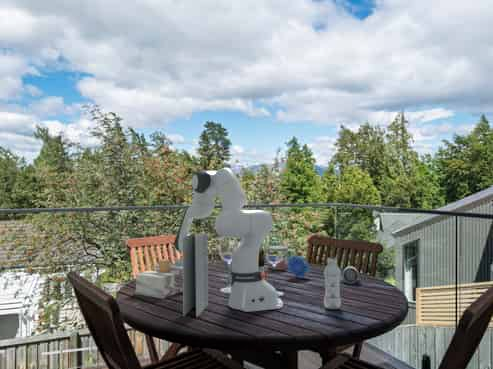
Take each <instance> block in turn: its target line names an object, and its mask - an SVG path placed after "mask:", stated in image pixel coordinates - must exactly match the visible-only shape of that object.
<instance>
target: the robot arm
mask: <svg viewBox="0 0 493 369" xmlns="http://www.w3.org/2000/svg"><path fill="white" fill-rule="evenodd" d="M191 187H192V189H193V191H194V192H193V195H192V202H191V204H190V205H188V206H187V208H186V209H185V211H184V213H183V216H182V217H181V222H180V225H179V228H178V232H177V234H176V236H175V238H174V242H173V245H174V249H175V250H176V251H177V252H180V253H182V254H183V242H182V237H185V236H187V235H190V234H191V233H190V230H191V227H192V224H193V221H194V220H195V219H196V220H197V219H204V218H205V219H206V218H207V217H210V216H211V214H213V212H214V209H215V204H216V196H218V198H219V200H220V204H221V212H220V213H219V214H218V215H217V216H216V218H215V220H214V229H215V232H216V233H217V235H218V236H219V237H221V238H226V239H237V238H238V239H240V238H241V239H242V240H241V242H240V244H239V245H238V246H236V247H234V248H233V249H232V252H231V270H230V277H229V278H230V279H229V280H230V285H231V287H230V296H229V300H228V307H229V308H232V309H233V310H240V311H243V312H246V313H248V312H258V311H267V310H277V309H283V307H284V303H283V300H282V299H281V298H280V297H278V293H277V289H276V288H275V287H274V286H273V285H271V284H270V283H269V282H268V281H266V280H265V278H266V274H265V272H264V271H262V270H260V269H259V261H260V260H259V257H260V256H259V255H260V249H261V247H262V243H263V241H264V240H265V238H266V237H267V235H268V234H270V233H271V232H272V230H273V227H274V218H273V217H272V214H271V213H270V212H269V211H267V210H261V209H250V210H249V209H247V210H244V209H242V208H243V207H244V206H245V205H246V203H247V195H246V192H245V190H244V189H243V186H242V184H241V183H240V181H239V178H238V177H237V175H236V174H235V172H233V170H231V169H230V168H228V167H222V168H219V169H218V170H198V171H196V172H194V173H193V175H192V176H191ZM170 270H171V271H170V274H174V276H178V277H182V278H183V257H182V258H177V259H176V260H175V261H174V262H173V263H172V262H170ZM154 271H156V272H159V263H158V264H156V265H155V270H154Z"/></svg>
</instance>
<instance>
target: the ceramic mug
mask: <svg viewBox="0 0 493 369" xmlns="http://www.w3.org/2000/svg"><path fill="white" fill-rule="evenodd" d="M358 279H359V270H358V269H357V268H356V267H354V266H347V267H345V268H344V270H343V271H342V274H341V276H340V282H341V281H345V282H346V283H347V284H354V283H356V282H357V281H358Z"/></svg>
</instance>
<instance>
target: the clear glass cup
mask: <svg viewBox="0 0 493 369" xmlns="http://www.w3.org/2000/svg"><path fill="white" fill-rule="evenodd" d="M267 248H268V252H269V251H283V252H284V255H285V258H284V260H283V261H282V262H281V263H279V264H278V265H277V266H276V267H273V266H271V265H269V264H268V269H270V268H271V270H286V269H289V268H288V267H287V264H288V263H289V261H288V259H289V258H288V249H289V248H288V245H286V246H285V245H269V246H268V247H267Z"/></svg>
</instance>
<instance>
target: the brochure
mask: <svg viewBox="0 0 493 369" xmlns="http://www.w3.org/2000/svg"><path fill="white" fill-rule="evenodd" d="M182 242H183V253H182V258H183V276H182V283H183V291H182V304H183V307H182V311H183V312H182V314H183V317H185V316H186V315H187V314H188V313H189V312H191V310H192V309H193V308H194V307H195V315H196V316H195V317H196V318H197V317H199V316H198V315H201V314H202V312H204V311H205V309H207V307H208V306H209V268H208V266H209V265H208V262H209V261H208V258H209V257H208V252H209V250H208V249H209V248H208V247H209V246H208V232H205V233H202V234H201V235H198V236H197V235H196V232H193V233H190V235H187V236H185V237H182Z"/></svg>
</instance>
